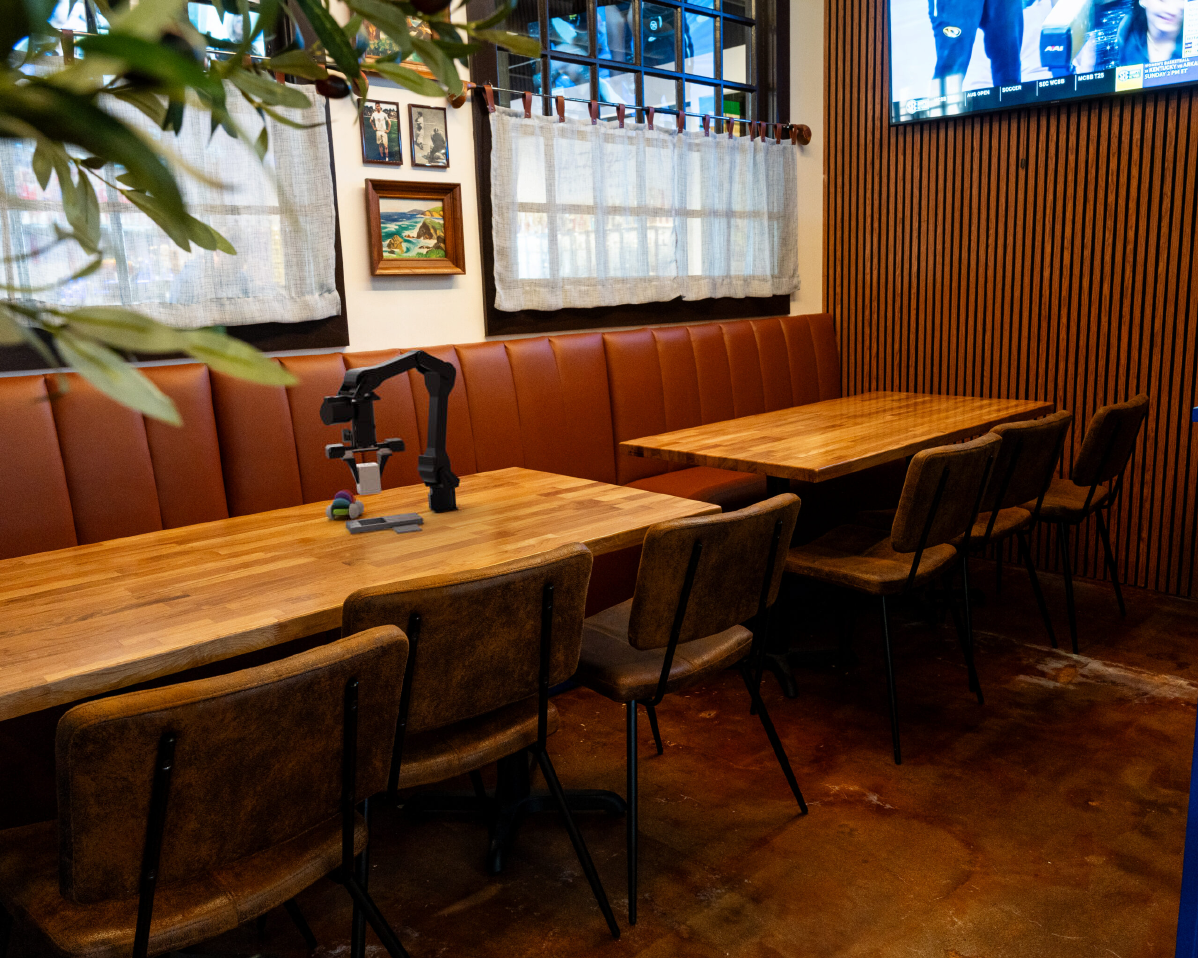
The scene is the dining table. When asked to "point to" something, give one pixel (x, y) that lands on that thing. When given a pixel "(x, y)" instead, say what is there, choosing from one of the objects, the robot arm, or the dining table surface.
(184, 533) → the dining table surface
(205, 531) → the dining table surface
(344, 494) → the rainbow dome toy
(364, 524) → the plate with rectangular hole
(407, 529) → the pad
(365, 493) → the brushed metal block
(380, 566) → the dining table surface
